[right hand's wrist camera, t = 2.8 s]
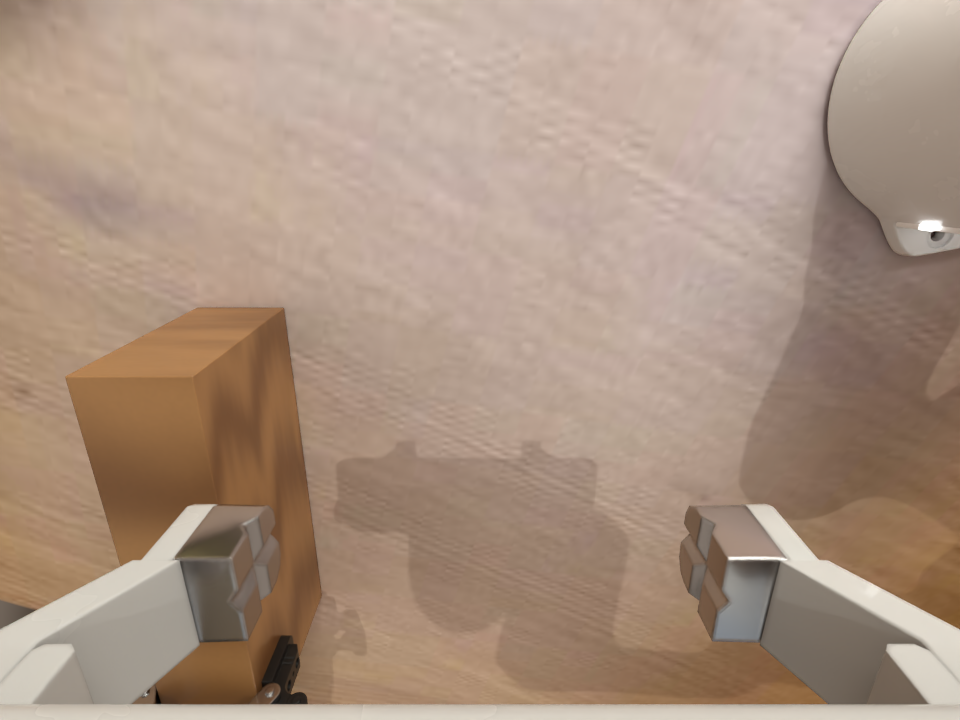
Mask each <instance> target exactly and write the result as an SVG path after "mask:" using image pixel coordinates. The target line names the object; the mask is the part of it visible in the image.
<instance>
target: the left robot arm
mask: <svg viewBox="0 0 960 720" xmlns="http://www.w3.org/2000/svg"><path fill="white" fill-rule="evenodd" d="M299 668H300V659H299V653H298V646H297V644H294V642H293V636H292V635H282V636H281V637H280V639H279V641H278V643H277V646H276V648H275V651H274V653H273V655H272V658H271V660H270V663H269V665H268V667H267V670H266V672H265V674H264V677H263V679H262V682H261V683H262V689H261V690H260V691H259V692H258V693H257V694H256V695H255V696H254V698H253V699H252V700H251V701H250V702H249V703H248V704H308V702H307V697H306V695H305V694H304V693H301V692H298V693H294V694H292V695H291V694H290V693H291V690H292V688H293V685H294V682H295V679H296V676H297V673H298V671H299ZM132 704H161V702H160V698H159V695H158V691H157V688H156V685H155V684H154V685H153V686H152V687H151V688H150V689H149V690H147V691H146V692H145V693H144V694H143V695H142V696H140V697H139V698H138V699H137V700H136V701H135V702H133V703H132Z"/></svg>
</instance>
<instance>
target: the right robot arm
mask: <svg viewBox="0 0 960 720" xmlns="http://www.w3.org/2000/svg"><path fill="white" fill-rule="evenodd" d="M827 129H828V142H829V148H830V152H831V156H832V160H833V163H834V166H835V168H836V170H837V173H838V175H839V176H840V178H841V180H842V182H843V183H844V185H845V186H846V187H847V189H848V190H849V191H850V192H851V194H852V195H853V196H854V197H855V198H856V199H857V200H859V201H860V202H861V203H862V204H864V205H865V206H866V207H867V208H868V209H870V210H871V211H872V212H873V213H874V214H875V215H876V216H877V218H878V219H879V221H880V224H881V226H882V229H883V232H884V234H885V237H886V239H887V242H888V244H889V245H890V247H891V249H892V250H893V251H894V252H895V253H897V254H899V255H904V256H923V255H928V254H933V253H939V252H944V251H949V250H955V249H960V0H882V1H881V2H880V3H879V4H878V5H877V6H876V8H875V9H874V10H873V11H872V12H871V14H870V15H869V16H868V17H867V19H866V20H865V21H864V23H863V24H862V25H861V27H860V28H859V30H858V31H857V33H856V34H855V36H854V38H853V39H852V41H851V43H850V44H849V46H848V48H847V50H846V52H845V54H844V56H843V59H842V61H841V63H840V66H839V68H838V71H837V74H836V77H835V80H834V83H833V87H832V91H831V95H830V101H829V108H828V121H827ZM932 231H936V232H935V235H934V236H933V237H932V238H931V233H932ZM275 524H276V521H275V516H274V511H273V509H272V508H271V507H270V506H269V505H234V504H219V505H217V504H193V505H190V506H187V507H186V508H185V509H184V511H183V512H182V513H181V514H180V515H179V516H178V518H177V519H176V520H175V521H174V522H173V523H172V525H171V526H170V527H169V528H168V529H167V530H166V532H165V533H164V534H163V535H162V536H161V537H160V539H159V540H158V541H157V542H156V543H155V544H154V546H153V547H152V548H151V549H150V550H149V551H148V553H147V554H146V555H145V556H144V557H143V558H142V560H132V561H130V562H128V563H126V564H124V565H122V566H121V567H119V568H117V569H115V570H113V571H111V572H109V573H107V574H105V575H103V576H101V577H100V578H98V579H96V580H94V581H92V582H90V583H88V584H86V585H84V586H82V587H80V588H78V589H77V590H75V591H73V592H71V593H69V594H67V595H65V596H63V597H61V598H59V599H57V600H55V601H54V602H52V603H50V604H48V605H46V606H44V607H42V608H40V609H38V610H36V611H34V612H33V613H31V614H29V615H27V616H25V617H23V618H21V619H19V620H17V621H15V622H13V623H11V624H10V625H8V626H6V627H4V628H2V629H0V720H960V629H958V628H956V627H954V626H952V625H950V624H948V623H946V622H944V621H942V620H941V619H939V618H937V617H935V616H933V615H931V614H929V613H927V612H925V611H923V610H921V609H920V608H918V607H916V606H914V605H912V604H910V603H908V602H906V601H904V600H902V599H900V598H899V597H897V596H895V595H893V594H891V593H889V592H887V591H885V590H883V589H881V588H879V587H878V586H876V585H874V584H872V583H870V582H868V581H866V580H864V579H862V578H860V577H858V576H857V575H855V574H853V573H851V572H849V571H847V570H845V569H843V568H841V567H839V566H838V565H836V564H834V563H832V562H830V561H828V560H818V558H817V557H816V556H815V555H814V554H813V553H812V551H811V550H810V549H809V548H808V547H807V546H806V544H805V543H804V542H803V541H802V540H801V539H800V537H799V536H798V535H797V534H796V533H795V532H794V530H793V529H792V528H791V527H790V526H789V525H788V523H787V522H786V521H785V520H784V519H783V518H782V516H781V515H780V514H779V513H778V512H777V511H776V510H775V508H774V507H772V506H770V505H768V504H743V505H721V506H689V508H688V510H687V512H686V515H685V521H684V524H685V526H686V528H687V530H688V531H689V533H690V534H689V535H688V536H687V537H686V538H685V539H684V540H683V541H682V542H681V546H680V555H679V560H680V571H681V575H682V578H683V582H684V584H685V586H686V588H687V590H688V593H690V594H691V595H692V596H694V597H695V598H697V599H698V600H699V606H698V613H699V615H700V617H701V619H702V621H703V624H704V626H705V628H706V630H707V632H708V634H709V636H710V638H711V640H712V641H723V642H758V643H760V645H761V646H762V647H763V648H764V649H765V650H767V651H768V652H769V653H770V654H771V655H772V656H773V657H775V658H776V659H777V660H778V661H779V662H780V663H782V664H783V665H784V666H785V667H786V668H787V669H788V670H790V671H791V672H792V673H793V674H794V675H795V676H797V677H798V678H799V679H800V680H801V681H802V682H804V683H805V684H806V685H807V686H808V687H809V688H810V689H812V690H813V691H814V692H815V693H816V694H817V695H819V696H820V697H821V698H822V699H823V700H824V701H826V702H827V703H828V704H132V703H133V702H135V701H136V700H137V699H138V698H139V697H140V696H142V695H143V694H144V693H145V692H146V691H147V690H149V689H150V688H151V687H152V686H153V685H154V684H155V683H157V682H158V681H159V680H160V679H161V678H162V677H164V676H165V675H166V674H167V673H168V672H169V671H171V670H172V669H173V668H174V667H175V666H176V665H178V664H179V663H180V662H181V661H182V660H183V659H184V658H186V657H187V656H188V655H189V654H190V653H191V652H193V651H194V650H195V649H196V648H197V647H198V646H200V643H202V642H236V641H248V640H249V638H250V636H251V634H252V632H253V630H254V628H255V626H256V624H257V622H258V619H259V617H260V615H261V613H262V606H261V600H262V599H263V598H265V597H266V596H268V595H269V594H270V593H272V590H273V588H274V586H275V584H276V582H277V578H278V574H279V569H280V556H281V553H280V546H279V542H278V541H277V540H276V539H275V538H274V537H273V536H272V535H271V534H270V533H271V531H272V530H273V528H274V526H275Z"/></svg>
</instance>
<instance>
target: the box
mask: <svg viewBox="0 0 960 720" xmlns="http://www.w3.org/2000/svg"><path fill="white" fill-rule="evenodd" d="M65 378H66V381H67V385H68V388H69V392H70V395H71V398H72V402H73V405H74V409H75V412H76V415H77V419H78V422H79V426H80V429H81V433H82V436H83V439H84V443H85V446H86V450H87V453H88V456H89V460H90V463H91V467H92V470H93V473H94V477H95V480H96V484H97V487H98V490H99V494H100V497H101V501H102V504H103V507H104V511H105V514H106V518H107V521H108V524H109V528H110V531H111V535H112V538H113V541H114V545H115V548H116V552H117V555H118V559H119V562H120V565H121V566H122V565H124V564H126V563H128V562H130V561H132V560H142V558H143V557H144V556H145V555H146V554H147V553H148V551H149V550H150V549H151V548H152V547H153V546H154V544H155V543H156V542H157V541H158V540H159V539H160V537H161V536H162V535H163V534H164V533H165V532H166V530H167V529H168V528H169V527H170V526H171V525H172V523H173V522H174V521H175V520H176V519H177V518H178V516H179V515H180V514H181V513H182V512H183V511H184V509H185V508H186V507H187V506H190V505H193V504H217V505H219V504H234V505H269V506H270V507H271V508H272V509H273V511H274V516H275V521H276V524H275V526H274V528H273V530H272V531H271V533H270V534H271V535H272V536H273V537H274V538H275V539H276V540H277V541H278V542H279V546H280V553H281V556H280V569H279V574H278V578H277V582H276V584H275V586H274V588H273V590H272V593H270V594H269V595H268V596H266V597H265V598H263V599H262V600H261V606H262V613H261V615H260V617H259V619H258V622H257V624H256V626H255V628H254V630H253V632H252V634H251V636H250V638H249V640H248V641H236V642H202V643H200V646H198V647H197V648H196V649H195V650H194V651H193V652H191V653H190V654H189V655H188V656H187V657H186V658H184V659H183V660H182V661H181V662H180V663H179V664H178V665H176V666H175V667H174V668H173V669H172V670H171V671H169V672H168V673H167V674H166V675H165V676H164V677H162V678H161V679H160V680H159V681H158V682H157V683H155V685H156V688H157V691H158V695H159V698H160V702H161V704H248V703H249V702H250V701H251V700H252V699H253V698H254V696H255V695H256V694H257V693H258V692H259V691H260V690H261V689H262V683H261V682H262V679H263V677H264V674H265V672H266V670H267V667H268V665H269V663H270V660H271V658H272V655H273V653H274V651H275V648H276V646H277V643H278V641H279V639H280V637H281V636H282V635H292V636H293V642H294V644H297V646H298V653H299V656H300V653H301V651H302V648H303V645H304V642H305V640H306V637H307V634H308V631H309V629H310V626H311V623H312V620H313V618H314V615H315V612H316V609H317V607H318V604H319V601H320V598H321V596H322V594H321V587H320V579H319V572H318V564H317V556H316V549H315V541H314V534H313V526H312V518H311V511H310V503H309V496H308V488H307V481H306V473H305V465H304V458H303V450H302V443H301V435H300V427H299V420H298V412H297V405H296V397H295V390H294V382H293V374H292V367H291V359H290V352H289V344H288V337H287V329H286V321H285V314H284V308H196V309H194V310H192V311H190V312H188V313H186V314H184V315H182V316H181V317H179V318H177V319H175V320H173V321H171V322H169V323H167V324H165V325H163V326H161V327H159V328H158V329H156V330H154V331H152V332H150V333H148V334H146V335H144V336H142V337H140V338H138V339H136V340H135V341H133V342H131V343H129V344H127V345H125V346H123V347H121V348H119V349H117V350H115V351H113V352H111V353H110V354H108V355H106V356H104V357H102V358H100V359H98V360H96V361H94V362H92V363H90V364H88V365H87V366H85V367H83V368H81V369H79V370H77V371H75V372H73V373H71V374H69V375H67V376H66V377H65Z"/></svg>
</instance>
